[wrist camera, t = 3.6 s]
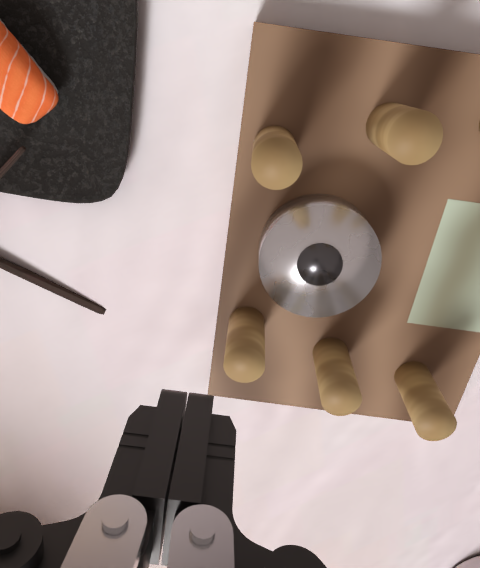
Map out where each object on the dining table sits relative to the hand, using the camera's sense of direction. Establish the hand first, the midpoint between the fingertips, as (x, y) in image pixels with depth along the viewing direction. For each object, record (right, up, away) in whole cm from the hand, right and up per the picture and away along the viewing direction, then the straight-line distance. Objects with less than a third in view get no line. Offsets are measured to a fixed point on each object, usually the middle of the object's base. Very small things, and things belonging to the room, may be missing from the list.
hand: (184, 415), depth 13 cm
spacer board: (+10, +6, +17) cm, 20 cm away
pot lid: (+6, +6, +15) cm, 18 cm away
